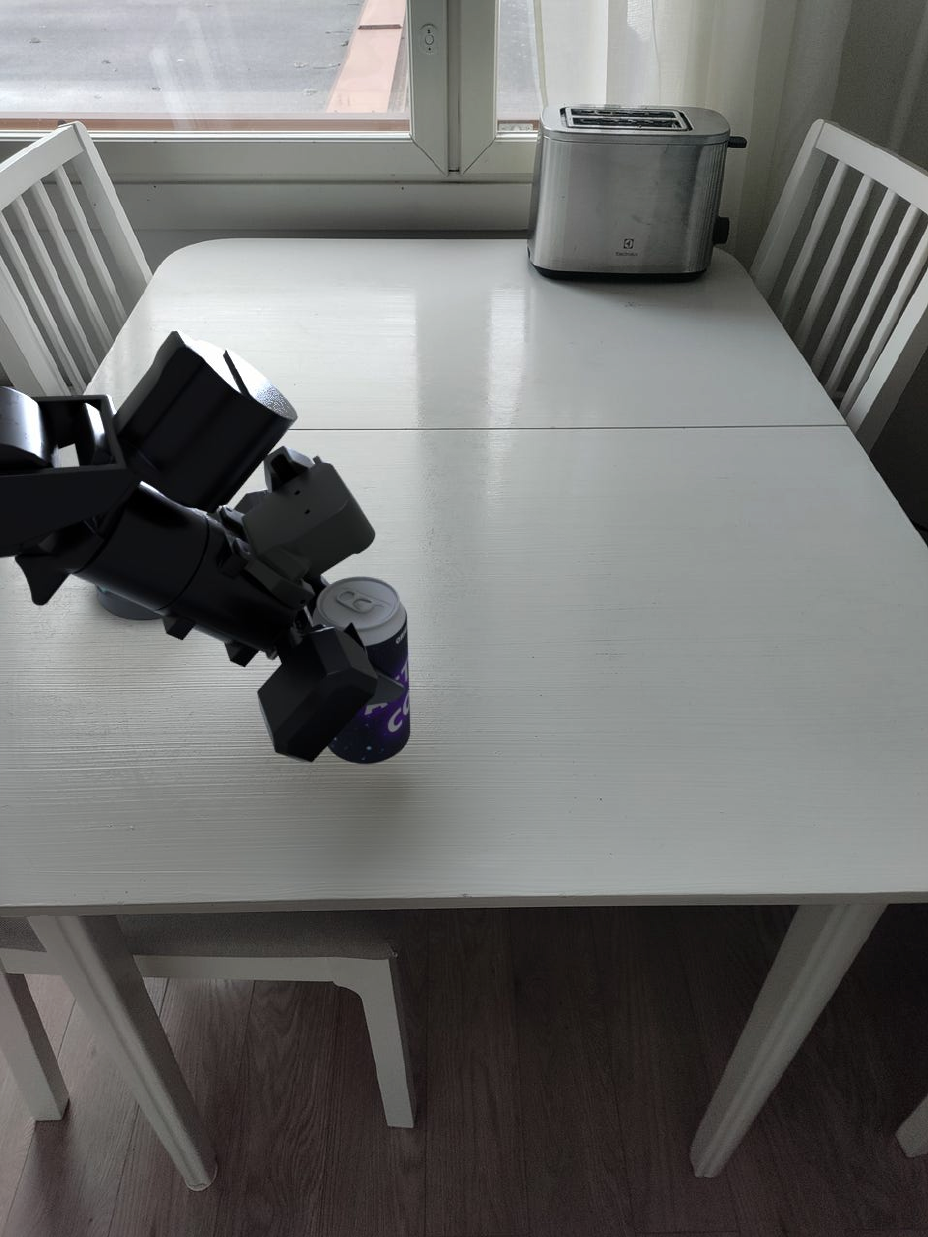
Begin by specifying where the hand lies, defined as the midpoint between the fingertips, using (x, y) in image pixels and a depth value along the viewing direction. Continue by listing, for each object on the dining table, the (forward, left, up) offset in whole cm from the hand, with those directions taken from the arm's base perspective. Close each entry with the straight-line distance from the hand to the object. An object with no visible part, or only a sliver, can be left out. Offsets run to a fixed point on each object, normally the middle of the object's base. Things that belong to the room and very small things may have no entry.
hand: (384, 663), depth 60 cm
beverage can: (-1, 0, -7) cm, 7 cm away
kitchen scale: (-4, +32, -12) cm, 35 cm away
